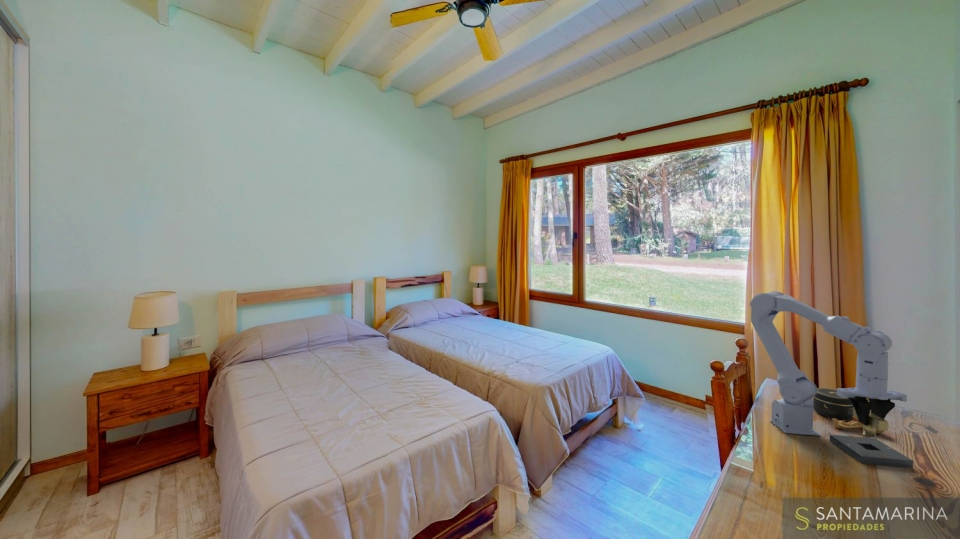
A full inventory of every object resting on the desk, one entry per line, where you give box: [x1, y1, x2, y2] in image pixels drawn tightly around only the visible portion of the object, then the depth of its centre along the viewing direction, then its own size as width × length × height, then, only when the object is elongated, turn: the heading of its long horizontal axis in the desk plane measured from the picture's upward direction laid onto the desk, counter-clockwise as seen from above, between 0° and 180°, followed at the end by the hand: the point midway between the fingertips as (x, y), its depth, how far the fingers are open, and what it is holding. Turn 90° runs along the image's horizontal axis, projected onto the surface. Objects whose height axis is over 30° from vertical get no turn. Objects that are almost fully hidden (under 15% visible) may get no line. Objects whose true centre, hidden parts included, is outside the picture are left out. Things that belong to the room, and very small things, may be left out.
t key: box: [853, 407, 889, 438], centre depth 96 cm, size 8×2×6 cm, turn 168°
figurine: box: [831, 418, 885, 434], centre depth 108 cm, size 8×6×12 cm
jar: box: [812, 387, 854, 422], centre depth 119 cm, size 10×10×8 cm
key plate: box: [829, 434, 914, 469], centre depth 96 cm, size 11×11×2 cm
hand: (869, 423), depth 96 cm, fingers closed on t key, 2 cm apart
